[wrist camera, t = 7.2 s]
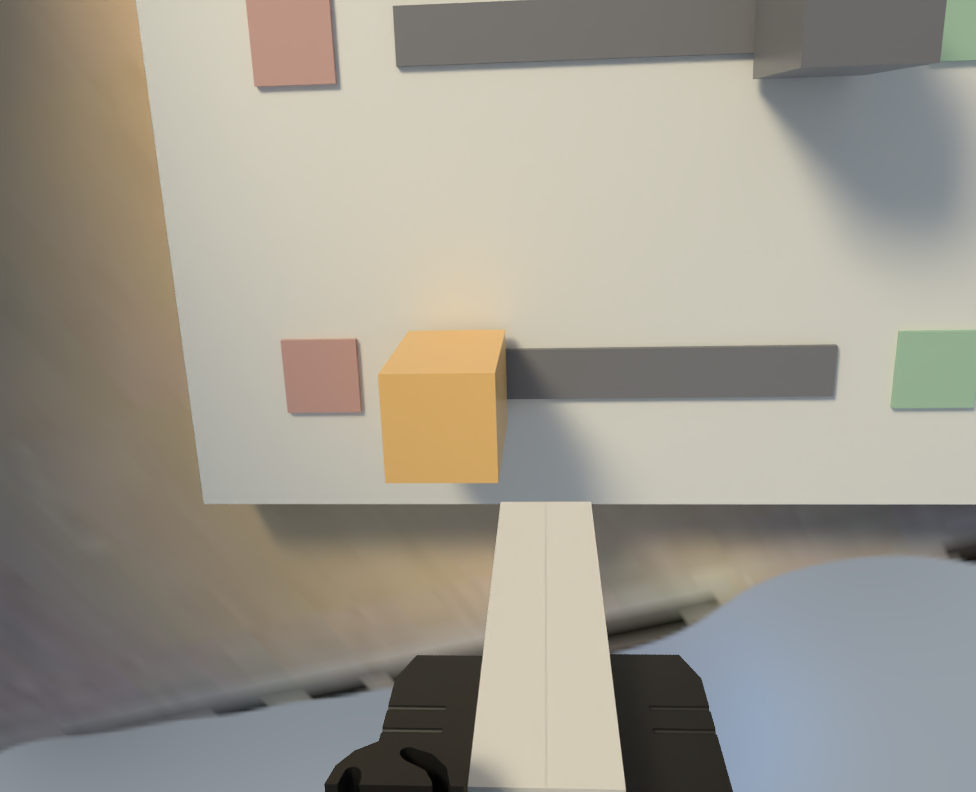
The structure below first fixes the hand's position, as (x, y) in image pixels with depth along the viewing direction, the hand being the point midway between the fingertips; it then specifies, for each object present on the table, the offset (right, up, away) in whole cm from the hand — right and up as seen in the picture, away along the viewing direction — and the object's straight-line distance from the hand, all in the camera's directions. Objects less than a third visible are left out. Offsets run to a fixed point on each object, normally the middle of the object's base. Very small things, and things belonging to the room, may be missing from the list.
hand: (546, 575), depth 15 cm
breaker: (+8, +13, +9) cm, 18 cm away
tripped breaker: (-2, +4, +13) cm, 13 cm away
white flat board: (+3, +9, +14) cm, 17 cm away
